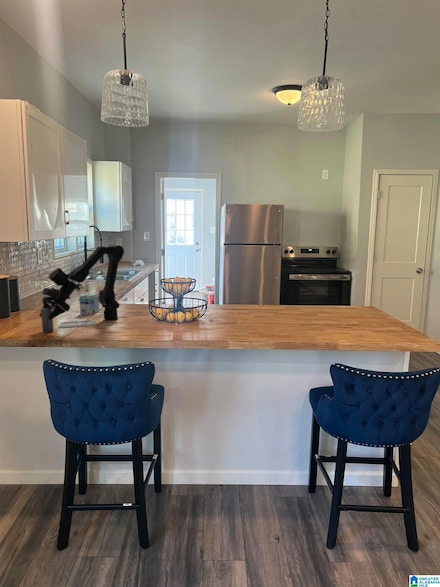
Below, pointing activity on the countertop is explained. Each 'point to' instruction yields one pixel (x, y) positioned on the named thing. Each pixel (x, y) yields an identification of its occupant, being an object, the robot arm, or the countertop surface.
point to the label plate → (76, 324)
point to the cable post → (46, 320)
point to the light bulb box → (89, 303)
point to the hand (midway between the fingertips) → (44, 317)
